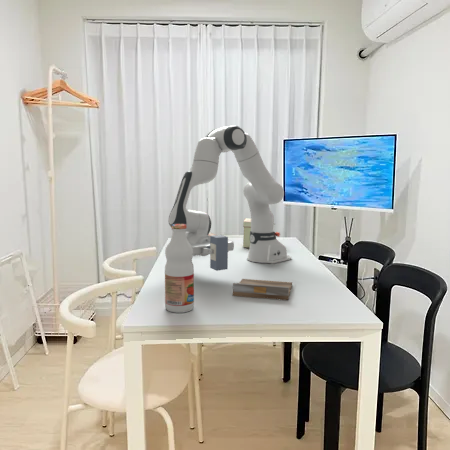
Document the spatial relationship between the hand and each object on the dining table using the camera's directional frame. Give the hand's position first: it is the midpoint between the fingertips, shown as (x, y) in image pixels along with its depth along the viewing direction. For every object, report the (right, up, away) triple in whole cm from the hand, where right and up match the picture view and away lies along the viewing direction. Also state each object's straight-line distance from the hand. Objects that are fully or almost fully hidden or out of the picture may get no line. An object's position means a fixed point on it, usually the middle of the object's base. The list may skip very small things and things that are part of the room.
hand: (219, 251), depth 171 cm
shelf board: (+17, -15, -7) cm, 23 cm away
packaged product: (-7, 0, +93) cm, 93 cm away
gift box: (+21, -2, +80) cm, 83 cm away
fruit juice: (-13, -18, -27) cm, 35 cm away
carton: (0, -7, +2) cm, 7 cm away
